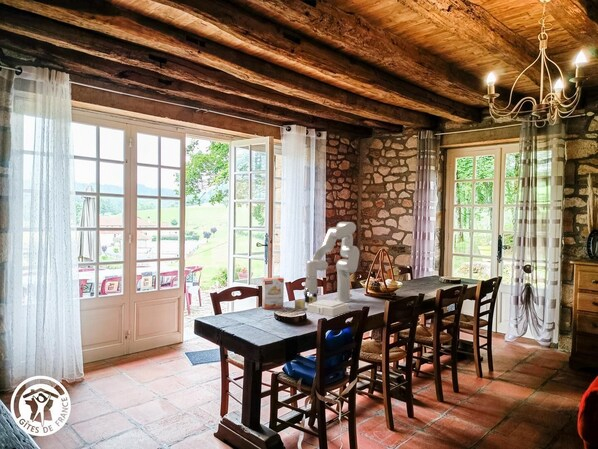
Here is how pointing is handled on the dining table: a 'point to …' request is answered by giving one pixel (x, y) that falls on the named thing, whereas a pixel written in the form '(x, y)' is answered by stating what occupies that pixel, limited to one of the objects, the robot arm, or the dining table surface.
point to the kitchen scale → (328, 307)
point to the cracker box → (272, 293)
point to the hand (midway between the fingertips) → (311, 301)
